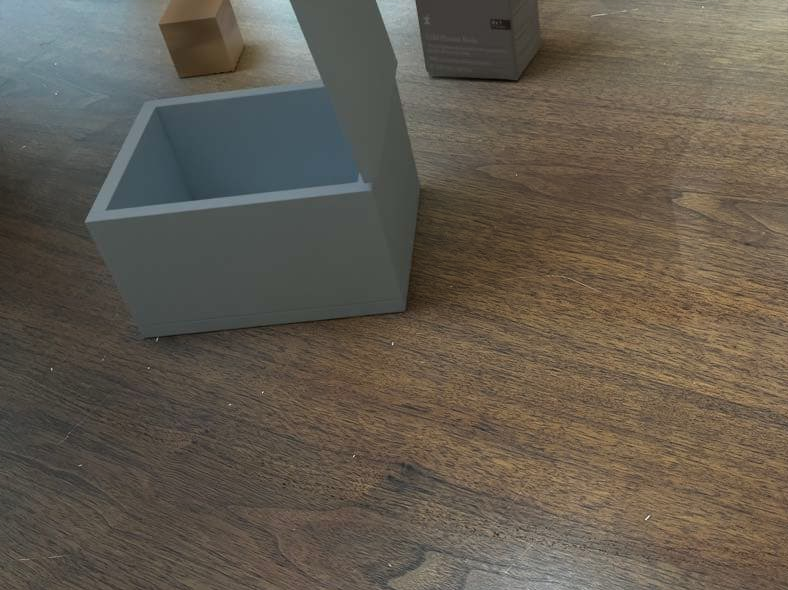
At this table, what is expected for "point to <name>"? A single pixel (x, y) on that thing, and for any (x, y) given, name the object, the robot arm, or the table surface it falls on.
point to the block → (201, 36)
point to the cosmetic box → (478, 37)
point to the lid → (353, 71)
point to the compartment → (255, 213)
